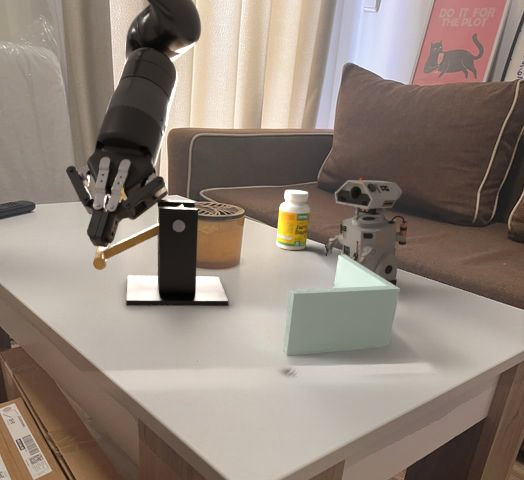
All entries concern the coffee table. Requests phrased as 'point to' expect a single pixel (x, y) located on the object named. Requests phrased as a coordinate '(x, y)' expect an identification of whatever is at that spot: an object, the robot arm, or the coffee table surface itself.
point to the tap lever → (123, 245)
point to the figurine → (370, 226)
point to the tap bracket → (176, 264)
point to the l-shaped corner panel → (341, 312)
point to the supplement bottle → (293, 220)
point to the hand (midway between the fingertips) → (98, 243)
